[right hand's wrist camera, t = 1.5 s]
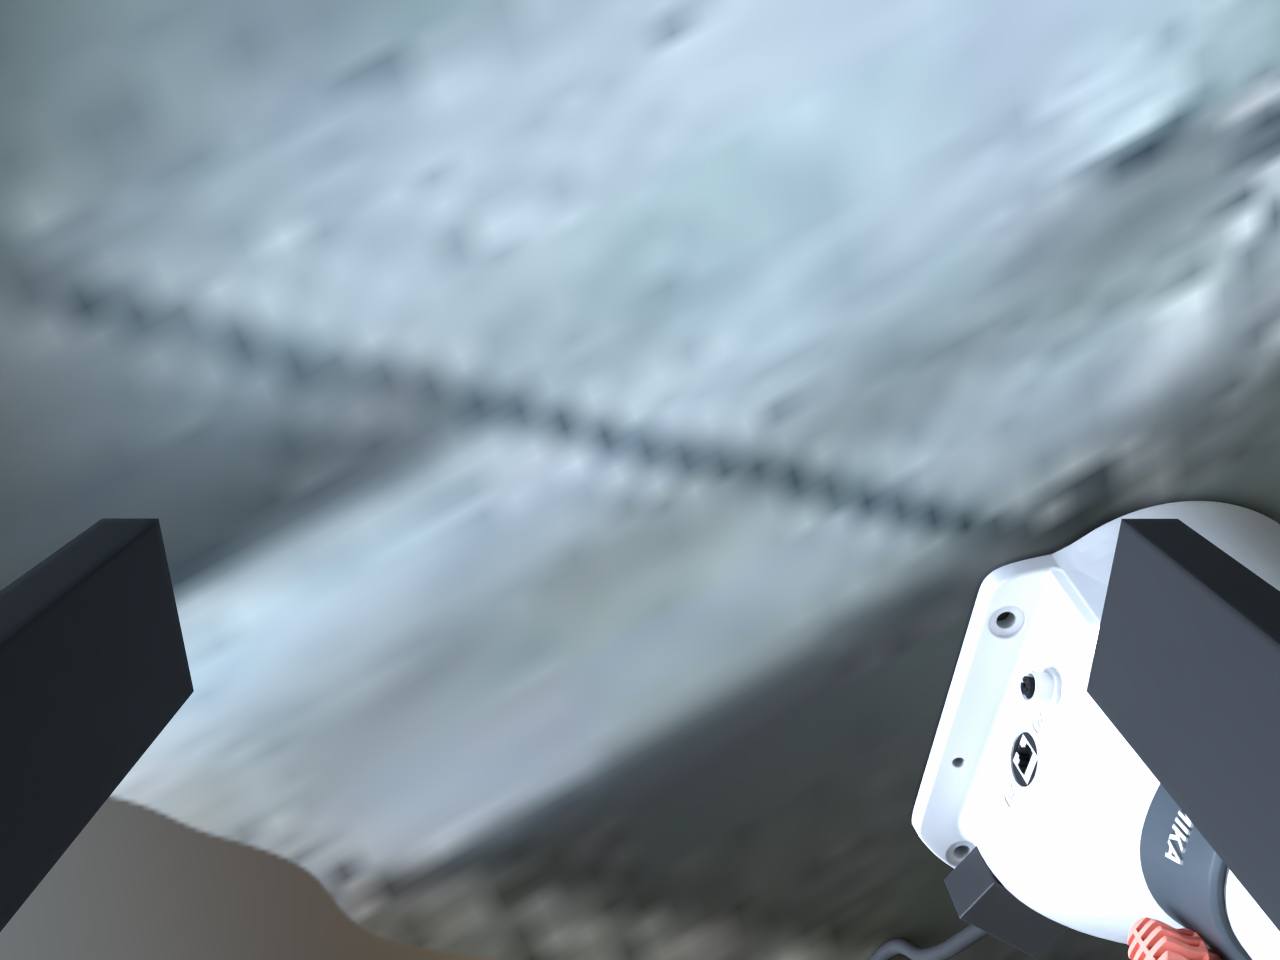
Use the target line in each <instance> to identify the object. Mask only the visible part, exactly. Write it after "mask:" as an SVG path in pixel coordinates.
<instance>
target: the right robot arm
mask: <svg viewBox="0 0 1280 960" xmlns="http://www.w3.org/2000/svg"><path fill="white" fill-rule="evenodd" d="M192 693H193V686H192V681H191V676H190V671H189V666H188V661H187V656H186V651H185V647H184V642H183V637H182V632H181V627H180V622H179V617H178V612H177V607H176V603H175V598H174V593H173V588H172V583H171V578H170V573H169V568H168V563H167V559H166V554H165V549H164V544H163V539H162V534H161V529H160V524H159V519H101V520H100V521H98V522H97V523H95V524H94V525H93V526H91V527H90V528H88V529H87V530H86V531H84V532H83V533H81V534H80V535H79V536H77V537H76V538H74V539H73V540H72V541H70V542H69V543H67V544H66V545H64V546H63V547H62V548H60V549H59V550H57V551H56V552H55V553H53V554H52V555H50V556H49V557H48V558H46V559H45V560H43V561H42V562H41V563H39V564H38V565H36V566H35V567H34V568H32V569H31V570H29V571H28V572H27V573H25V574H24V575H22V576H21V577H20V578H18V579H17V580H15V581H14V582H13V583H11V584H10V585H8V586H7V587H6V588H4V589H3V590H1V591H0V932H1V930H2V929H3V928H4V927H5V925H6V924H7V923H8V922H9V920H10V919H11V918H12V917H13V915H14V914H15V913H16V912H17V910H18V909H19V908H20V907H21V905H22V904H23V903H24V902H25V900H26V899H27V898H28V897H29V895H30V894H31V893H32V892H33V891H34V889H35V888H36V887H37V886H38V884H39V883H40V882H41V881H42V879H43V878H44V877H45V876H46V874H47V873H48V872H49V871H50V869H51V868H52V867H53V866H54V864H55V863H56V862H57V861H58V859H59V858H60V857H61V856H62V854H63V853H64V852H65V851H66V849H67V848H68V847H69V846H70V844H71V843H72V842H73V841H74V839H75V838H76V837H77V836H78V834H79V833H80V832H81V831H82V829H83V828H84V827H85V826H86V824H87V823H88V822H89V821H90V820H91V818H92V817H93V816H94V815H95V813H96V812H97V811H98V810H99V808H100V807H101V806H102V805H103V803H104V802H105V801H106V800H107V798H108V797H109V796H110V795H111V793H112V792H113V791H114V790H115V788H116V787H117V786H118V785H119V783H120V782H121V781H122V780H123V778H124V777H125V776H126V775H127V773H128V772H129V771H130V770H131V769H132V767H133V766H134V765H135V764H136V762H137V761H138V760H139V759H140V757H141V756H142V755H143V754H144V752H145V751H146V750H147V749H148V747H149V746H150V745H151V744H152V742H153V741H154V740H155V739H156V737H157V736H158V735H159V734H160V732H161V731H162V730H163V729H164V727H165V726H166V725H167V724H168V722H169V721H170V720H171V719H172V717H173V716H174V715H175V714H176V713H177V711H178V710H179V709H180V708H181V706H182V705H183V704H184V703H185V701H186V700H187V699H188V698H189V696H190V695H191V694H192ZM1087 693H1088V694H1089V695H1090V696H1091V698H1092V699H1093V700H1094V701H1095V703H1096V704H1097V705H1098V706H1099V708H1100V709H1101V710H1102V711H1103V713H1104V714H1105V715H1106V716H1107V717H1108V719H1109V720H1110V721H1111V722H1112V724H1113V725H1114V726H1115V727H1116V729H1117V730H1118V731H1119V732H1120V734H1121V735H1122V736H1123V737H1124V739H1125V740H1126V741H1127V742H1128V744H1129V745H1130V746H1131V747H1132V749H1133V750H1134V751H1135V752H1136V754H1137V755H1138V756H1139V757H1140V759H1141V760H1142V761H1143V762H1144V764H1145V765H1146V766H1147V767H1148V769H1149V770H1150V771H1151V772H1152V773H1153V775H1154V776H1155V777H1156V778H1157V780H1158V781H1159V782H1160V783H1161V785H1162V786H1163V787H1164V788H1165V790H1166V791H1167V792H1168V793H1169V795H1170V796H1171V797H1172V798H1173V800H1174V801H1175V802H1176V803H1177V805H1178V806H1179V807H1180V808H1181V810H1182V811H1183V812H1184V813H1185V815H1186V816H1187V817H1188V818H1189V820H1190V821H1191V822H1192V823H1193V825H1194V826H1195V827H1196V828H1197V830H1198V831H1199V832H1200V833H1201V834H1202V836H1203V837H1204V838H1205V839H1206V841H1207V842H1208V843H1209V844H1210V846H1211V847H1212V848H1213V849H1214V851H1215V852H1216V853H1217V854H1218V856H1219V857H1220V858H1221V859H1222V861H1223V862H1224V863H1225V864H1226V866H1227V867H1228V868H1229V869H1230V871H1231V872H1232V873H1233V874H1234V876H1235V877H1236V878H1237V879H1238V881H1239V882H1240V883H1241V884H1242V886H1243V887H1244V888H1245V889H1246V891H1247V892H1248V893H1249V894H1250V895H1251V897H1252V898H1253V899H1254V900H1255V902H1256V903H1257V904H1258V905H1259V907H1260V908H1261V909H1262V910H1263V912H1264V913H1265V914H1266V915H1267V917H1268V918H1269V919H1270V920H1271V922H1272V923H1273V924H1274V925H1275V927H1276V928H1277V929H1278V930H1279V932H1280V591H1279V590H1277V589H1276V588H1274V587H1273V586H1272V585H1270V584H1269V583H1267V582H1266V581H1265V580H1263V579H1262V578H1260V577H1259V576H1258V575H1256V574H1255V573H1253V572H1252V571H1251V570H1249V569H1248V568H1246V567H1245V566H1244V565H1242V564H1241V563H1239V562H1238V561H1237V560H1235V559H1234V558H1232V557H1231V556H1230V555H1228V554H1227V553H1225V552H1224V551H1223V550H1221V549H1220V548H1218V547H1217V546H1216V545H1214V544H1213V543H1211V542H1210V541H1208V540H1207V539H1206V538H1204V537H1203V536H1201V535H1200V534H1199V533H1197V532H1196V531H1194V530H1193V529H1192V528H1190V527H1189V526H1187V525H1186V524H1185V523H1183V522H1182V521H1180V520H1179V519H1121V524H1120V529H1119V534H1118V539H1117V544H1116V549H1115V554H1114V558H1113V563H1112V568H1111V573H1110V578H1109V583H1108V588H1107V593H1106V598H1105V603H1104V607H1103V612H1102V617H1101V622H1100V627H1099V632H1098V637H1097V642H1096V647H1095V651H1094V656H1093V661H1092V666H1091V671H1090V676H1089V681H1088V686H1087Z"/></svg>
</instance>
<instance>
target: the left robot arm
mask: <svg viewBox="0 0 1280 960" xmlns="http://www.w3.org/2000/svg"><path fill="white" fill-rule="evenodd" d="M1121 519H1179V520H1180V521H1182V522H1183V523H1185V524H1186V525H1187V526H1189V527H1190V528H1192V529H1193V530H1194V531H1196V532H1197V533H1199V534H1200V535H1201V536H1203V537H1204V538H1206V539H1207V540H1208V541H1210V542H1211V543H1213V544H1214V545H1216V546H1217V547H1218V548H1220V549H1221V550H1223V551H1224V552H1225V553H1227V554H1228V555H1230V556H1231V557H1232V558H1234V559H1235V560H1237V561H1238V562H1239V563H1241V564H1242V565H1244V566H1245V567H1246V568H1248V569H1249V570H1251V571H1252V572H1253V573H1255V574H1256V575H1258V576H1259V577H1260V578H1262V579H1263V580H1265V581H1266V582H1267V583H1269V584H1270V585H1272V586H1273V587H1274V588H1276V589H1277V590H1279V591H1280V524H1278V523H1277V522H1275V521H1274V520H1272V519H1270V518H1269V517H1267V516H1265V515H1263V514H1260V513H1258V512H1256V511H1253V510H1251V509H1248V508H1244V507H1241V506H1237V505H1233V504H1228V503H1221V502H1213V501H1182V502H1173V503H1166V504H1161V505H1156V506H1152V507H1148V508H1144V509H1141V510H1138V511H1135V512H1132V513H1129V514H1127V515H1124V516H1122V517H1119V518H1117V519H1115V520H1112V521H1110V522H1108V523H1106V524H1104V525H1102V526H1101V527H1099V528H1097V529H1095V530H1093V531H1092V532H1090V533H1089V534H1087V535H1085V536H1084V537H1082V538H1080V539H1079V540H1077V541H1076V542H1074V543H1072V544H1071V545H1069V546H1067V547H1065V548H1063V549H1062V550H1060V551H1057V552H1055V553H1053V554H1050V555H1045V556H1040V557H1035V558H1031V559H1026V560H1022V561H1018V562H1014V563H1011V564H1008V565H1005V566H1002V567H1000V568H998V569H996V570H994V571H993V572H991V573H990V574H989V575H988V576H987V577H986V578H985V579H984V581H983V582H982V584H981V587H980V589H979V593H978V596H977V599H976V603H975V606H974V609H973V613H972V616H971V619H970V623H969V626H968V629H967V633H966V636H965V639H964V643H963V646H962V649H961V653H960V656H959V659H958V663H957V666H956V669H955V673H954V676H953V679H952V683H951V686H950V689H949V693H948V696H947V699H946V703H945V706H944V709H943V713H942V716H941V719H940V723H939V726H938V729H937V733H936V736H935V739H934V743H933V746H932V749H931V753H930V756H929V759H928V763H927V766H926V769H925V773H924V776H923V779H922V783H921V786H920V789H919V793H918V796H917V799H916V803H915V806H914V810H913V815H912V824H913V826H914V828H915V830H916V832H917V833H918V835H919V837H920V838H921V840H922V841H923V842H924V843H925V844H926V846H927V847H928V848H929V849H930V850H931V851H932V852H933V853H934V854H935V855H936V856H938V857H939V858H940V859H941V860H943V861H944V862H945V863H947V864H948V865H950V866H951V867H953V868H954V870H953V871H952V872H951V873H950V874H949V875H948V876H947V877H946V878H945V880H944V881H945V884H946V886H947V889H948V891H949V893H950V896H951V898H952V901H953V903H954V906H955V908H956V910H957V913H958V915H959V918H960V919H962V920H964V921H966V922H968V923H969V924H970V925H968V926H967V927H966V928H964V929H963V930H961V931H960V932H958V933H957V934H955V935H954V936H952V937H951V938H949V939H947V940H946V941H944V942H942V943H940V944H938V945H935V946H932V947H929V948H920V947H918V946H916V945H915V944H913V943H912V942H910V941H908V940H906V939H902V938H899V939H893V940H890V941H888V942H886V943H885V944H883V945H882V946H881V947H880V948H878V949H877V950H876V952H875V953H874V954H873V955H872V956H871V958H870V959H869V960H890V959H891V958H892V957H894V956H896V955H898V954H904V955H906V956H907V957H909V958H910V959H911V960H947V959H949V958H951V957H953V956H955V955H957V954H958V953H960V952H962V951H963V950H965V949H966V948H968V947H969V946H971V945H972V944H974V943H975V942H977V941H978V940H980V939H981V938H983V937H985V936H986V935H988V934H991V935H993V936H994V937H996V938H998V939H1000V940H1002V941H1004V942H1006V943H1008V944H1010V945H1012V946H1014V947H1016V948H1017V949H1019V950H1021V951H1023V952H1025V953H1027V954H1029V955H1031V956H1033V957H1035V958H1037V957H1038V956H1040V955H1041V954H1042V953H1043V952H1044V951H1045V950H1046V949H1047V948H1048V947H1049V946H1050V945H1051V944H1052V943H1053V942H1054V941H1055V940H1056V939H1057V938H1058V937H1059V936H1060V935H1061V934H1062V933H1063V932H1064V931H1065V930H1066V929H1067V928H1068V927H1070V928H1072V929H1075V930H1077V931H1080V932H1083V933H1086V934H1090V935H1093V936H1096V937H1100V938H1104V939H1108V940H1112V941H1116V942H1120V943H1125V944H1127V945H1130V948H1129V950H1128V955H1129V959H1132V960H1280V932H1279V930H1278V929H1277V928H1276V927H1275V925H1274V924H1273V923H1272V922H1271V920H1270V919H1269V918H1268V917H1267V915H1266V914H1265V913H1264V912H1263V910H1262V909H1261V908H1260V907H1259V905H1258V904H1257V903H1256V902H1255V900H1254V899H1253V898H1252V897H1251V895H1250V894H1249V893H1248V892H1247V891H1246V889H1245V888H1244V887H1243V886H1242V884H1241V883H1240V882H1239V881H1238V879H1237V878H1236V877H1235V876H1234V874H1233V873H1232V872H1231V871H1230V869H1229V868H1228V867H1227V866H1226V864H1225V863H1224V862H1223V861H1222V859H1221V858H1220V857H1219V856H1218V854H1217V853H1216V852H1215V851H1214V849H1213V848H1212V847H1211V846H1210V844H1209V843H1208V842H1207V841H1206V839H1205V838H1204V837H1203V836H1202V834H1201V833H1200V832H1199V831H1198V830H1197V828H1196V827H1195V826H1194V825H1193V823H1192V822H1191V821H1190V820H1189V818H1188V817H1187V816H1186V815H1185V813H1184V812H1183V811H1182V810H1181V808H1180V807H1179V806H1178V805H1177V803H1176V802H1175V801H1174V800H1173V798H1172V797H1171V796H1170V795H1169V793H1168V792H1167V791H1166V790H1165V788H1164V787H1163V786H1162V785H1161V783H1160V782H1159V781H1158V780H1157V778H1156V777H1155V776H1154V775H1153V773H1152V772H1151V771H1150V770H1149V769H1148V767H1147V766H1146V765H1145V764H1144V762H1143V761H1142V760H1141V759H1140V757H1139V756H1138V755H1137V754H1136V752H1135V751H1134V750H1133V749H1132V747H1131V746H1130V745H1129V744H1128V742H1127V741H1126V740H1125V739H1124V737H1123V736H1122V735H1121V734H1120V732H1119V731H1118V730H1117V729H1116V727H1115V726H1114V725H1113V724H1112V722H1111V721H1110V720H1109V719H1108V717H1107V716H1106V715H1105V714H1104V713H1103V711H1102V710H1101V709H1100V708H1099V706H1098V705H1097V704H1096V703H1095V701H1094V700H1093V699H1092V698H1091V696H1090V695H1089V694H1088V693H1087V686H1088V681H1089V676H1090V671H1091V666H1092V661H1093V656H1094V651H1095V647H1096V642H1097V637H1098V632H1099V627H1100V622H1101V617H1102V612H1103V607H1104V603H1105V598H1106V593H1107V588H1108V583H1109V578H1110V573H1111V568H1112V563H1113V558H1114V554H1115V549H1116V544H1117V539H1118V534H1119V529H1120V524H1121ZM1003 612H1010V613H1009V615H1008V617H1007V618H1006V619H1004V620H1001V621H997V617H998V616H999V615H1000V614H1001V613H1003ZM959 846H963V847H961V848H958V849H956V848H957V847H959Z"/></svg>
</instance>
